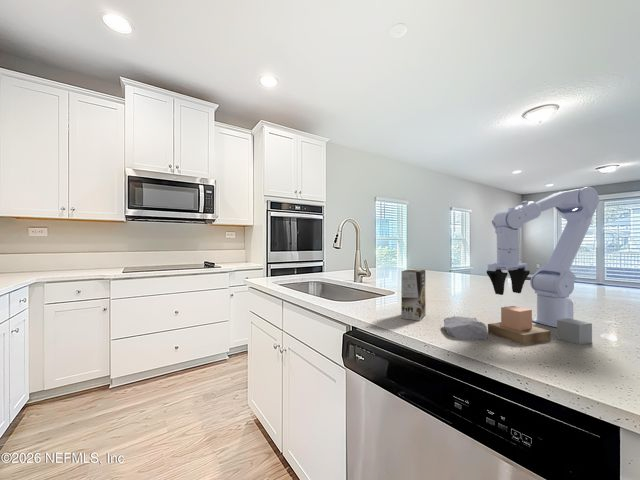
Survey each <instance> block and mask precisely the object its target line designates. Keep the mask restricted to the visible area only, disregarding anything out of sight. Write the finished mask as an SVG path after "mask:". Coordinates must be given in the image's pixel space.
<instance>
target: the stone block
mask: <svg viewBox="0 0 640 480" xmlns="http://www.w3.org/2000/svg"><path fill="white" fill-rule="evenodd" d="M443 326H444V328H445V330H446V333H447V334H448V336H451V337H452V338H456V339H462V340H478V339H480V340H482V339H483V341H487V340H486V339H488V326H486V324H485V323H484V322H482V321H478V319H477V318H476V317H469V316H467V317H466V316H458V315H456V316H455V315H454V316H451V317H445V318H443Z"/></svg>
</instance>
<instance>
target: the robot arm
mask: <svg viewBox="0 0 640 480" xmlns="http://www.w3.org/2000/svg"><path fill="white" fill-rule="evenodd" d="M600 201H601V200H600V197H599V193H598V192H597V190H596V189H595V188H594V187H591V186H585V187H582V188H577V189H571V190H566V191H558V192H555V193H552V194H550V195H548V196H546V197H543V198H542V199H540V200H538V201H528V200H524V201H521V202H520V204H519V205H516V206H511V207H509V208H508V209H507V210H505V211H499V212H496V214H495V215H494V217H493V218H492V219H493V220H491V224H492V227H493V228H494V231H495V232H494V233H495V234H496V262H494V263H488V264H487V270H486V275H487V276H488V277H489V280H490V281H491V283H492V287H493V291H494V293H495V295H500V296H503V295H504V291H505V282H506V279H507V276H508V274H509V277H510V281H511V291H512V293H515V294H522V290H523V287H524V284H525V281H527V280H526V279H527V278H528V276H529V275H530V269H529V270H528V263H527V262H520V229H522V227H523V226H524V224H526V223H529V222H530V221H533V220H535V219H538V218H539V217H540V216H541V213H542V212H544V211H547V210H550V209H552V208H555V210H556V211H557V212H558V214H559V215H560V217H561V218H562V219H564V220H565V221H566V224H565V226H564V228H563V231H562V233H561V235H560V237H559V239H558V241H557V243H556V245H555V248H554V250H553V252H552V254H551V256H550V258H549V260H548V262H547V263H545V264H543V265H541V266H540V267H538V268H537V270H536V272H535V273H534V274H533V275H532V276H531V278H530V281H529V282H530V283H529V284H530V287H531V288H532V290H533V291H534V294H536V318H532V323H533V322H534V323H537V324H542V325H545V326H549V327H554V328H557V320H560V319H567V318H570V319H575V318H574V302H573V301H572V299H571V298H570V295H571V294H572V293H573V291H574V290H575V282H576V279H577V277H576V275H575V273H574V272H573V271H571V267H572V265H573V263H574V262H575V261H574V260H575V258H576V255H577V254H578V251H579V250H580V248H581V245H582V243H583V241H584V238H585V236H586V234H587V232H588V230H589V228H590V226H591V224H592V222H593V216H594V214H595V212H596V210H597V208H598V206H599V203H600ZM504 271H507V272H504Z"/></svg>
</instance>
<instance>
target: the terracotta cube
mask: <svg viewBox="0 0 640 480" xmlns="http://www.w3.org/2000/svg"><path fill="white" fill-rule="evenodd" d="M532 312H533V310H532V309H529V308H525V307H520V306H515V305H510V306H504V307H503V306H502V307H500V319H501V321H500V322H501V325H502V326H505V327H509V328H512V329H516V330H519V331H520V330H526V329H531V328H532V326H533V321H532V319H533V313H532Z"/></svg>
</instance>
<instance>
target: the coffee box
mask: <svg viewBox="0 0 640 480" xmlns="http://www.w3.org/2000/svg"><path fill="white" fill-rule="evenodd" d="M400 288H401V295H400V297H401V299H400V300H401V302H400V303H401V309H400V310H401V315H400V316H401V319H405V320H409V321H410V320H411V321H417V322H419V321H422V319H423V318H424V317H425V316H426V312H427V311H426V310H427V309H426V307H427V306H426V305H427V304H426V303H427V302H426V270H425V269H405V270H401V287H400Z"/></svg>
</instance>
